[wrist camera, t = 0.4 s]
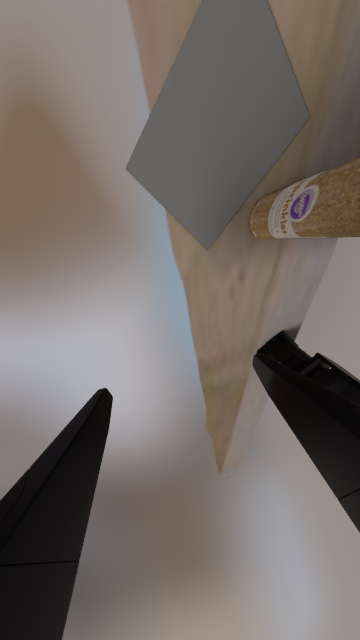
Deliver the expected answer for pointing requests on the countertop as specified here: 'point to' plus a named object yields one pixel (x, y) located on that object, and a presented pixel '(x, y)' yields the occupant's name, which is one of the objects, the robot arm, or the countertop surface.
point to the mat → (219, 117)
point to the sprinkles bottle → (312, 207)
